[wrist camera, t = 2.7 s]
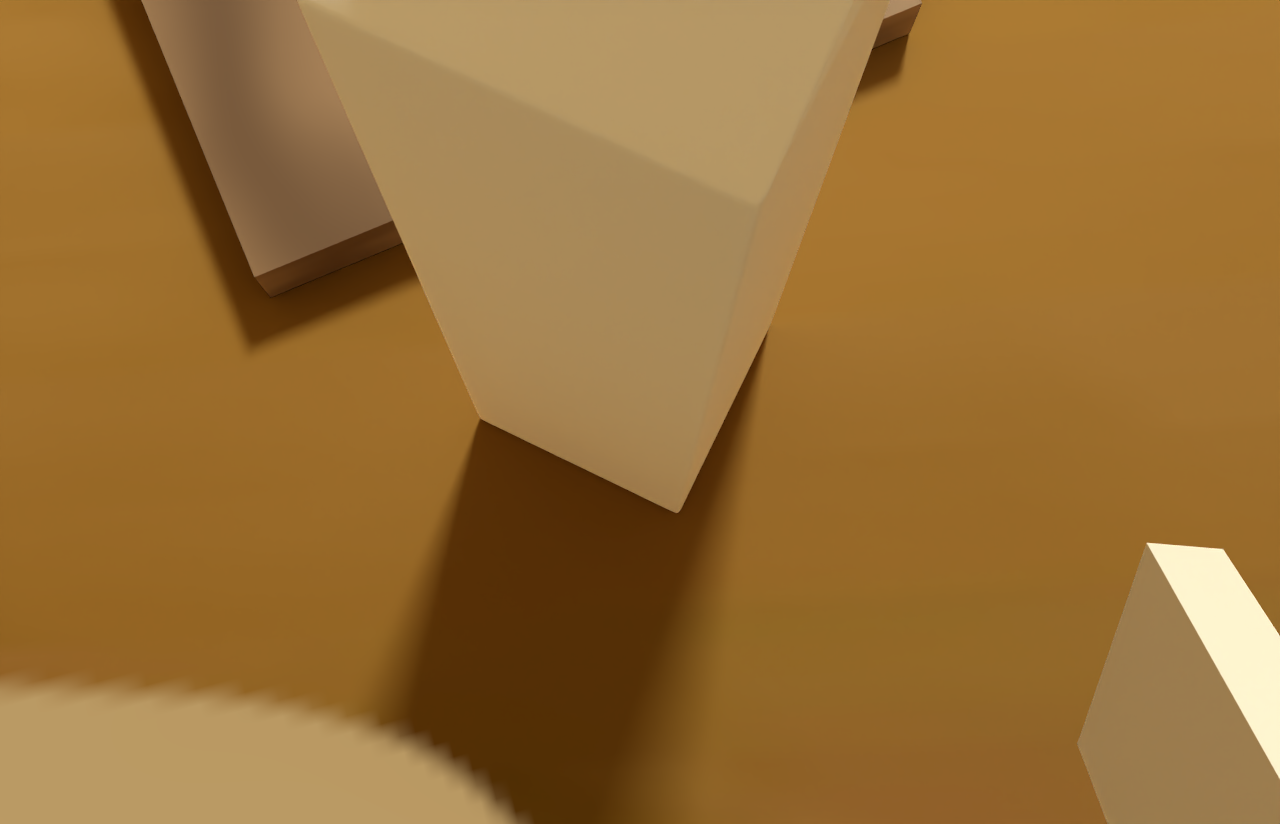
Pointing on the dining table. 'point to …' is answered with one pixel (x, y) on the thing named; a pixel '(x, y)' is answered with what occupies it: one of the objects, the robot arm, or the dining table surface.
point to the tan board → (292, 133)
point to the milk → (601, 197)
